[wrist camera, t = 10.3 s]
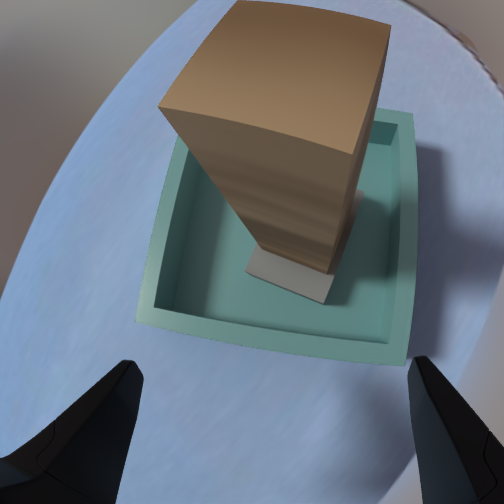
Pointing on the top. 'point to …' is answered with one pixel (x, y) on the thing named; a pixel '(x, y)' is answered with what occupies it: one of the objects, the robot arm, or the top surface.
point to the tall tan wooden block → (285, 130)
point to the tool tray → (275, 298)
